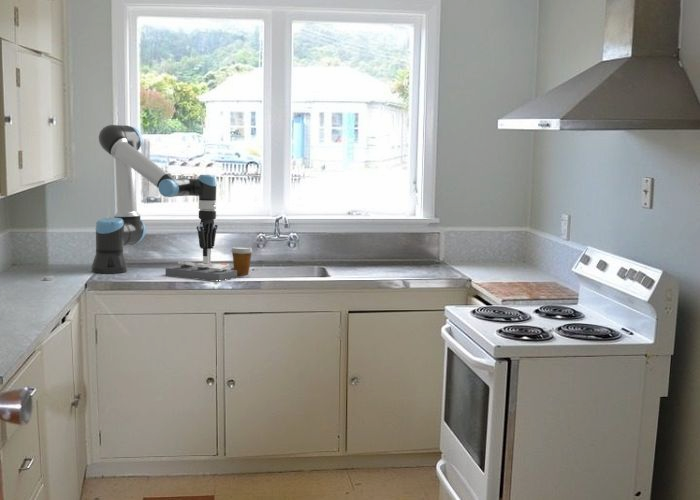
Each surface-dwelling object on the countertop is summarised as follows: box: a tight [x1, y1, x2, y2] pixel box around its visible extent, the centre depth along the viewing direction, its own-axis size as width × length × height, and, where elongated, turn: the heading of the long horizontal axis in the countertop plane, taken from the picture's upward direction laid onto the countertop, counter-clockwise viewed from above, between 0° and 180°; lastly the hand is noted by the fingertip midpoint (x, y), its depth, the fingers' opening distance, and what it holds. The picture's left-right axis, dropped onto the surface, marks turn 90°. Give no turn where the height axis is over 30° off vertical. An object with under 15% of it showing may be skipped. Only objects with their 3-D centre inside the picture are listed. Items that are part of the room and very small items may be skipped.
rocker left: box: [177, 260, 196, 266], centre depth 376 cm, size 4×7×1 cm, turn 155°
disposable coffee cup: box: [230, 246, 253, 276], centre depth 382 cm, size 10×10×12 cm
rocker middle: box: [195, 262, 213, 268], centre depth 372 cm, size 4×7×1 cm, turn 155°
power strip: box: [164, 264, 238, 282], centre depth 371 cm, size 28×14×4 cm, turn 65°
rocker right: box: [211, 262, 230, 271], centre depth 368 cm, size 4×7×1 cm, turn 155°
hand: (206, 263), depth 374 cm, fingers closed, pressing on rocker middle
